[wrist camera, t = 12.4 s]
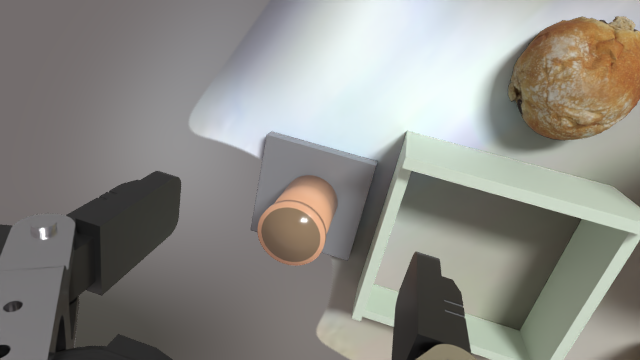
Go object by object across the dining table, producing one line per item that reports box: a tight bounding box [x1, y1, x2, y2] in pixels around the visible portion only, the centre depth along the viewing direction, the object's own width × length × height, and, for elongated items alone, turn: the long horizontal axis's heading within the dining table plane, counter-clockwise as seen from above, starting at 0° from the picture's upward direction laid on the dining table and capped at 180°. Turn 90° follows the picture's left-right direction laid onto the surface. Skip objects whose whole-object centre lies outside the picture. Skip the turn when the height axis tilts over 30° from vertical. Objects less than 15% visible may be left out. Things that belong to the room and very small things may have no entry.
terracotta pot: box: [258, 175, 338, 265], centre depth 40 cm, size 6×6×8 cm
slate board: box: [251, 131, 377, 261], centre depth 44 cm, size 12×12×2 cm
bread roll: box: [508, 16, 640, 140], centre depth 33 cm, size 10×10×8 cm
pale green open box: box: [352, 131, 640, 360], centre depth 38 cm, size 20×20×9 cm
